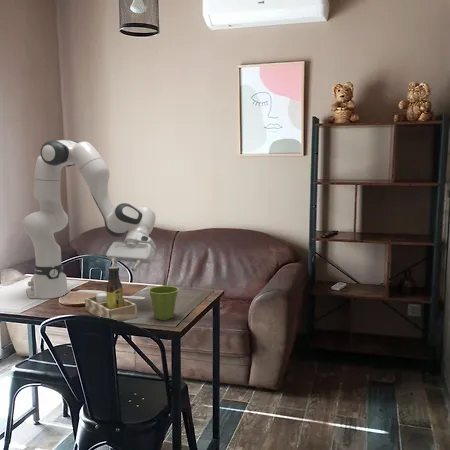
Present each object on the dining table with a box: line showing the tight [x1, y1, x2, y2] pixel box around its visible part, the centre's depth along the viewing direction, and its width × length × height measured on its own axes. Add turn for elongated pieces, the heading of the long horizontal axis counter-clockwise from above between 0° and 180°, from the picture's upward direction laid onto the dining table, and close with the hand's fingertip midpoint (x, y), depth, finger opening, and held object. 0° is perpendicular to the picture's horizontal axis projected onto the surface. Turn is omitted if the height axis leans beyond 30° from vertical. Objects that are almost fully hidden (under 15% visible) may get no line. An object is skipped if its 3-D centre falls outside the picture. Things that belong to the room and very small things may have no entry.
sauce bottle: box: [105, 266, 124, 310], centre depth 197 cm, size 6×6×20 cm
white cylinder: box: [95, 291, 107, 303], centre depth 206 cm, size 7×7×7 cm
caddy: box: [84, 295, 138, 322], centre depth 202 cm, size 22×12×5 cm, turn 39°
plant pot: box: [147, 285, 180, 321], centre depth 197 cm, size 12×12×11 cm
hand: (123, 269), depth 202 cm, fingers open, 8 cm apart
